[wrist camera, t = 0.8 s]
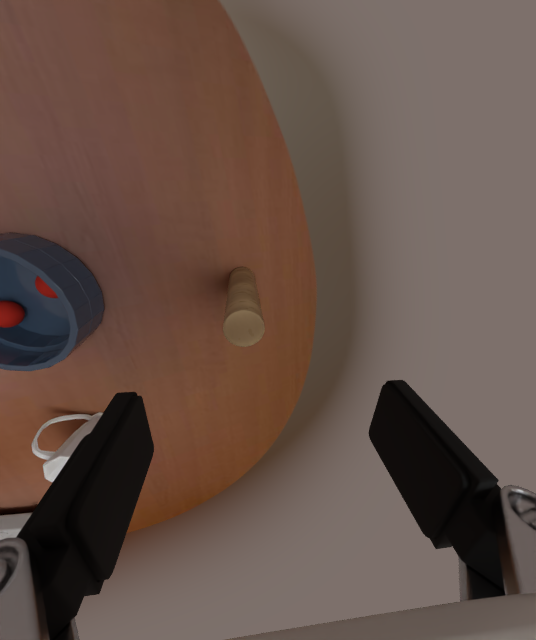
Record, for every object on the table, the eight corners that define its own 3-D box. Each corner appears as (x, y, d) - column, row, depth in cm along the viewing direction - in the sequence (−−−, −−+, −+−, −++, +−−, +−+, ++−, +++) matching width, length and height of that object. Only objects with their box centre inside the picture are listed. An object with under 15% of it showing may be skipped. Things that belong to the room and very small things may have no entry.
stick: (224, 274, 30) (214, 322, 18) (247, 262, 29) (251, 302, 18) (237, 296, 31) (236, 353, 19) (259, 284, 31) (271, 335, 19)
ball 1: (-5, 304, 28) (-32, 315, 25) (14, 292, 27) (-10, 302, 25) (18, 324, 29) (-4, 336, 26) (37, 312, 29) (17, 324, 26)
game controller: (-18, 557, 45) (-58, 546, 39) (0, 526, 48) (-34, 512, 42) (66, 549, 47) (40, 537, 41) (78, 520, 50) (56, 505, 44)
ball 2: (41, 275, 27) (19, 283, 24) (62, 262, 26) (42, 269, 24) (64, 297, 28) (45, 307, 25) (84, 285, 28) (67, 293, 25)
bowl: (-58, 271, 26) (-134, 289, 21) (36, 207, 25) (-20, 209, 19) (48, 358, 32) (10, 389, 27) (130, 311, 30) (107, 335, 25)
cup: (117, 442, 40) (90, 495, 33) (51, 420, 37) (5, 474, 29) (136, 416, 38) (112, 467, 31) (68, 390, 35) (23, 440, 27)
